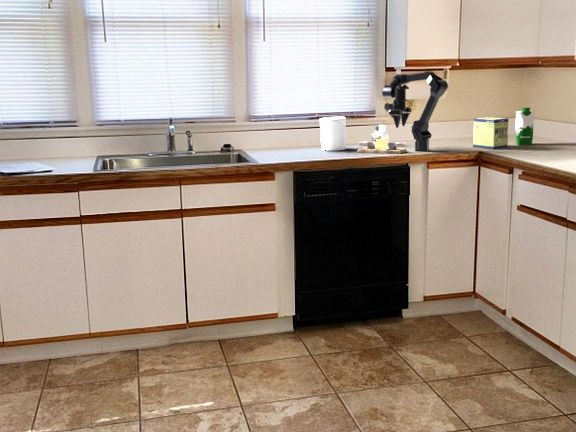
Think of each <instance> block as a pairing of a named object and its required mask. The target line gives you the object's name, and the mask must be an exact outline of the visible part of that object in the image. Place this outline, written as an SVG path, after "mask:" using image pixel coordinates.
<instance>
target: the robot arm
mask: <svg viewBox="0 0 576 432" xmlns="http://www.w3.org/2000/svg"><path fill="white" fill-rule="evenodd" d="M391 80H392V81H390V84H384V87H383V89H382V92H381V93H382V97H383V98H385V99H387V98H390V99H391V98H392V99H393V98H394V99H393V101H392V103H389V102H387V103H384V107H383V109H384V110H385V111H386V113H387V112H388V115H389V116H390V117H391V118H392V120H393V122H394V125H395V127H396V129H399V127H400V124H401V125H402V127H405V125H406V124H407V121H408V119H409V117H410V115H411V113H412V111H413V110H412V108H411V106H406V105H407V104H406V102H408V99H407V96H406V95H407V94H406V93H407V92H406V91H407V90H410V87H409V86H407V84H410V83H411V82H419V81H424V80H425V81H426V82H427V84H428V86H430V89H429V92H430V93H429V95H430V96H429V98H428V100H427V102H426V104H425V106H424V109H423V111H422V113H421V115H420V118H419V119H418V120H414V121H413V124H412V125H411V134H412V136H413V140H415V141H414V151H415V152H429V151H430V150H431V149H430V139H432V135H433V134H432V133H431V132H430V131H429V127H430V126H429V121H430V120H431V117H432V115H433V112H434V111H435V108H436V106H437V105H438V102H439V100H440V98H441V97H442V96H443V95H445V93H446V92H447V90H448V88H449V85H448V82H447V81H446V80H445V79H443V78H442V77H440V76H439V75H437V74H436V73H435V72H434V71H432V70H430V71H425V72H418V73H410V74H409V73H398V74H394V76H393V78H392V79H391Z"/></svg>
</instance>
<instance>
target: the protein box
mask: <svg viewBox="0 0 576 432" xmlns="http://www.w3.org/2000/svg"><path fill="white" fill-rule="evenodd" d="M472 139H473V140H472V141H473V143H472V147H473V148H480V149H487V150H500V149H506V148H508V145H509V118H507V117H506V118H505V117H491V116H488V117H487V116H486V117H485V116H484V117H475V118H473V138H472Z"/></svg>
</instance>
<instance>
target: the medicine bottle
mask: <svg viewBox="0 0 576 432" xmlns="http://www.w3.org/2000/svg"><path fill="white" fill-rule="evenodd" d="M386 128H387V126H386V125H385V124H376V125H375V126H374V132H375V133H371V141H375V142H376V140H377V139H388V143H390V133H389V132H388V133H387V130H386ZM375 148H376V146H375Z"/></svg>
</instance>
